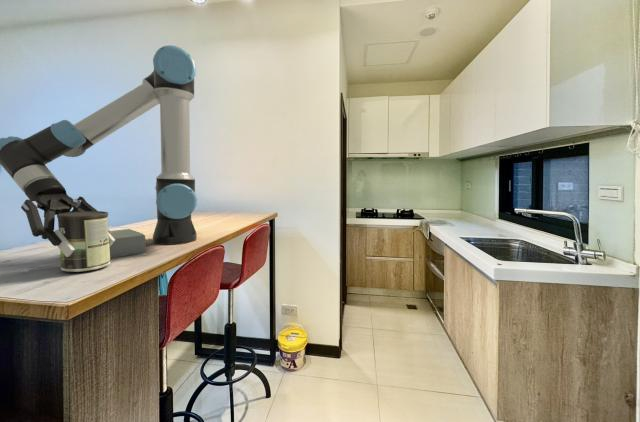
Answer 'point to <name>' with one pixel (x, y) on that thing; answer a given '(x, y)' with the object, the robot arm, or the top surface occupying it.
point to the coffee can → (85, 240)
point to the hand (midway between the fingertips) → (92, 248)
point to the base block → (127, 243)
